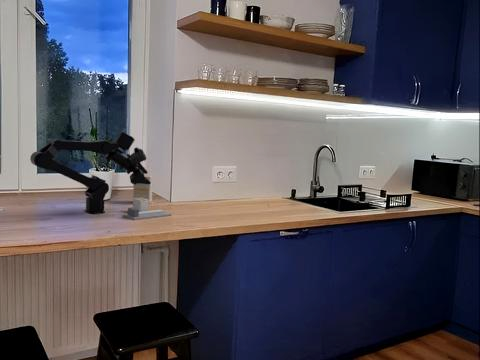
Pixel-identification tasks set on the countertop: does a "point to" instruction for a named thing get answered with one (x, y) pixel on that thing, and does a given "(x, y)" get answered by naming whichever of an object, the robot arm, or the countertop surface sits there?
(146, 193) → the supplement box
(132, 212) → the rail board
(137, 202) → the module
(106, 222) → the countertop surface
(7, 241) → the countertop surface
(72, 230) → the countertop surface
